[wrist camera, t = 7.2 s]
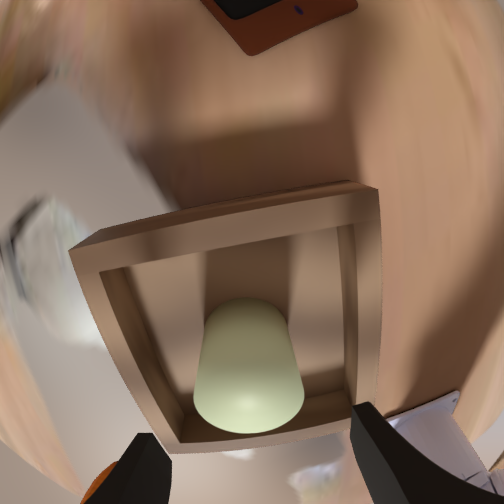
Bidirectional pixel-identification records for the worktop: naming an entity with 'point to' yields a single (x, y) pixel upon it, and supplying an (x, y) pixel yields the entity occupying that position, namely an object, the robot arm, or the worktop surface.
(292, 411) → the green cylinder
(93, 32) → the worktop surface
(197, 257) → the walnut tray
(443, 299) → the worktop surface
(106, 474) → the carrot
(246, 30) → the smartphone
